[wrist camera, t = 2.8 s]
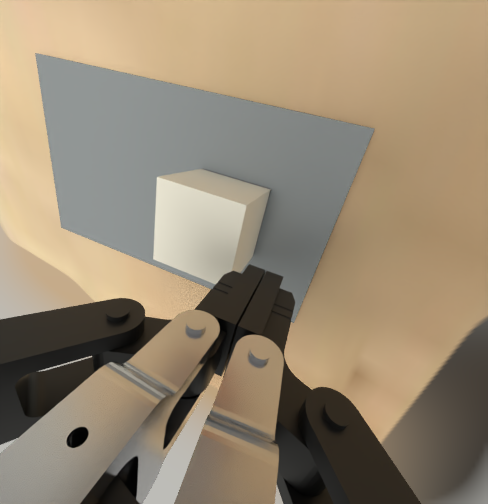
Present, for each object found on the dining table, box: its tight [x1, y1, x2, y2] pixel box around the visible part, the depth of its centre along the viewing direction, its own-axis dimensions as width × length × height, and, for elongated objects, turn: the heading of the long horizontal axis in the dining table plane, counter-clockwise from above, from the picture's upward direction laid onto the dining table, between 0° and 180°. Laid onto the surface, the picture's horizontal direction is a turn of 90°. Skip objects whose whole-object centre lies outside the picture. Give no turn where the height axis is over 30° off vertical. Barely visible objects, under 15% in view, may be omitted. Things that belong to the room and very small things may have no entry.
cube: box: [153, 169, 271, 285], centre depth 15 cm, size 5×5×5 cm
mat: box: [35, 53, 374, 323], centre depth 19 cm, size 24×14×1 cm, turn 77°
